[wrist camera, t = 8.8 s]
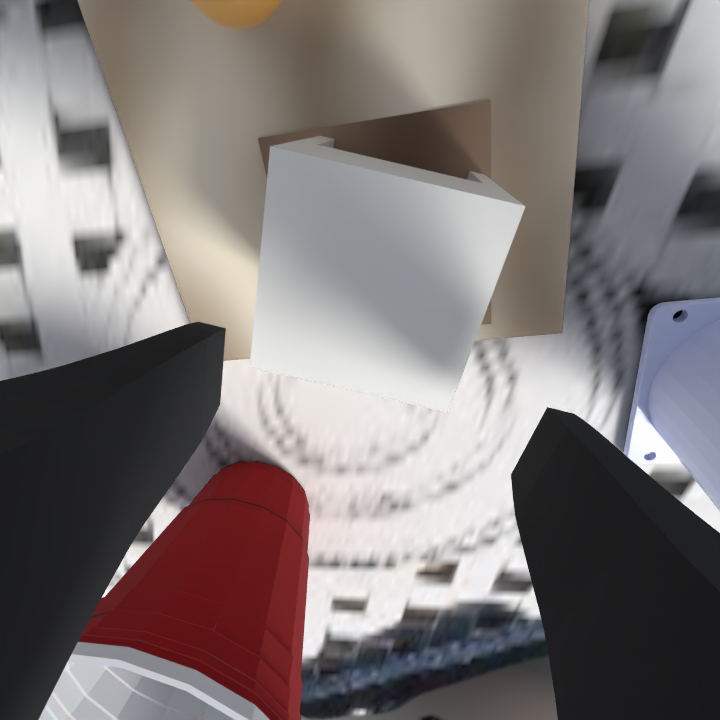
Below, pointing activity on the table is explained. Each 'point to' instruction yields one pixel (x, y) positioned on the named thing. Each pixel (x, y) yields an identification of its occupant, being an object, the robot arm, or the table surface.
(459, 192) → the white tabletop archway
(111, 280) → the table surface
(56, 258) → the table surface
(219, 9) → the orange marble
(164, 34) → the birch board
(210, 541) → the plastic cup
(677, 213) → the table surface
